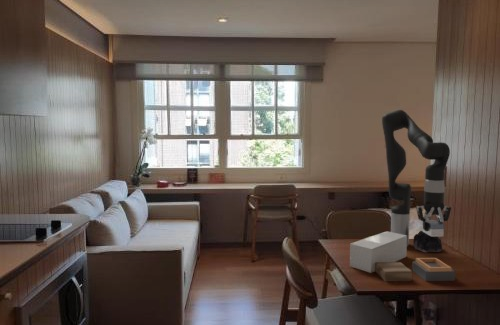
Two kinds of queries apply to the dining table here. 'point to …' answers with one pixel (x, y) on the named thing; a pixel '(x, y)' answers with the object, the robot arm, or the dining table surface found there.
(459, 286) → the dining table surface
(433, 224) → the block
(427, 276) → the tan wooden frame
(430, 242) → the crystal cluster
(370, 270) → the long white block
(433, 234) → the housing base plate
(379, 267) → the walnut stand
